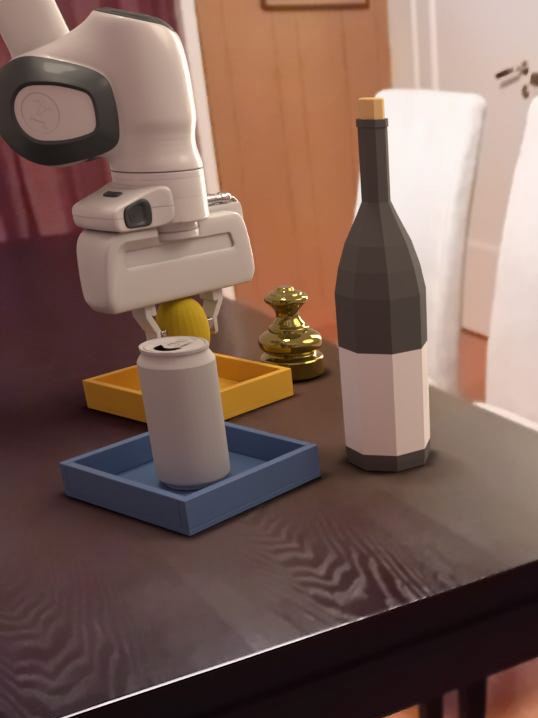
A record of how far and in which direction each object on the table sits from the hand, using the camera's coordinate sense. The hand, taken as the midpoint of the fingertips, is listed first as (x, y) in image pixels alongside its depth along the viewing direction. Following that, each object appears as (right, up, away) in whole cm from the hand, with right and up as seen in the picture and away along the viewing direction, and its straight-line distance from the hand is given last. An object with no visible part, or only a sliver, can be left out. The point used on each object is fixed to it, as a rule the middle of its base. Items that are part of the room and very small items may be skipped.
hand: (183, 340), depth 107 cm
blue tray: (+6, -18, -18) cm, 26 cm away
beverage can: (+6, -18, -18) cm, 26 cm away
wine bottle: (+23, -15, -12) cm, 30 cm away
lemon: (0, -3, +2) cm, 3 cm away
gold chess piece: (+9, 0, +12) cm, 16 cm away
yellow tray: (0, -6, +3) cm, 7 cm away
